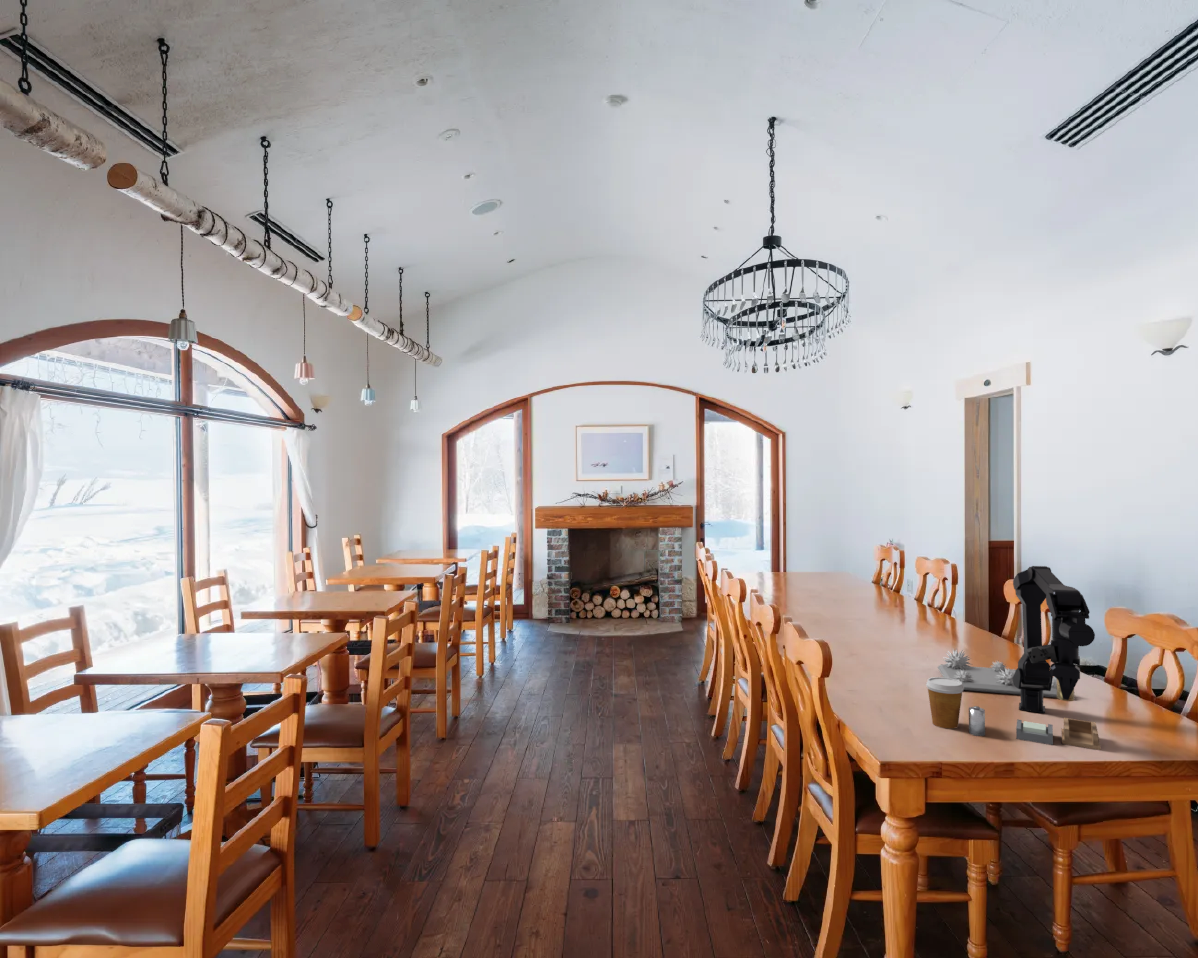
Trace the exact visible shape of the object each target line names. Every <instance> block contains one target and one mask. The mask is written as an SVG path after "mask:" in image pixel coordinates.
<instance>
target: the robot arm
mask: <svg viewBox="0 0 1198 958" xmlns="http://www.w3.org/2000/svg"><path fill="white" fill-rule="evenodd" d="M1012 585H1013V589H1014V591H1015V595H1016V596H1015V597H1017V599H1018V600H1019V601H1020V602H1021V605H1022V630H1023V631H1022V632H1023V633H1022V636H1023V637H1022V638H1023V654H1022V655H1021V657H1020V658H1019V660H1018V661H1017V668H1016V669H1015V670H1016V672H1015V674H1014V676H1013V684H1014V686H1015V687H1017V688H1018V689H1020V694H1021V695H1020V702H1019V703H1018V710H1020V711H1024V712H1025V711H1027V712H1033V713H1040V714H1045V713H1046V706H1045V705H1044V697H1043V690H1046V691H1051V686H1052V679H1053V677H1056V678H1057V679H1058V681H1059V684H1060V688H1061V692H1062V696H1063V699H1064V700H1069V698H1070V695H1071V693H1072V691H1073V689H1074V690H1075V688H1076V685H1077V683H1078V681H1079V680H1080V679H1081V668H1080V666H1081V657H1080V654H1079V653H1080V652H1079V651H1080V650H1079V648H1080V647H1087V646H1089V645H1091V644H1092V643H1093V642H1094V641H1095V638H1096V634H1095V631H1094V629H1093V627H1092V626H1091V625H1088V624H1087V623H1086V619H1087V620H1089V619H1090V609H1089V607H1088V604H1087V602H1086V599H1085V598H1084V596H1083V594H1081V591H1080V590H1079V589H1077V588H1075V587H1073V586H1070V585H1069V586H1068V585H1065V584H1064V583H1062V581H1061V580H1060V579H1059V578H1058V577H1057V576H1056V575H1055V574H1054V573H1053V572H1052V569H1051V567H1049V566H1046V565H1044V566H1043V565H1032V566H1029V567H1028V568H1027V569H1024V570H1023V571H1020V572H1018V573H1016V575H1015V576H1014V578H1013V580H1012ZM1044 602H1046V605H1047V607H1048V610H1049V612H1050V617H1051V631H1052V632H1051V637H1052V638H1051V639H1050V643H1048V644H1043V633H1042V632H1043V631H1042V605H1043V603H1044ZM1048 660H1050V662H1051V663H1052V664H1050V663H1049V662H1047V661H1048ZM1021 682H1022V683H1021Z"/></svg>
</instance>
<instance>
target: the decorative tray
mask: <svg viewBox="0 0 1198 958" xmlns="http://www.w3.org/2000/svg"><path fill="white" fill-rule="evenodd" d="M951 648H952V647H951ZM955 649H956V650H955ZM955 649H954V648H952V653H951V651H949V650H946V651H947V652H945V654H946V655H947V657H946V656H942V658H943V661H944V662H945V663H944V664H940V665H938V666H937V669H938V671H939V672H940V674H941V675H942V676H941V677H944V678H951V679H955V680H958V681H960V682H962V685H963V687H964V690H963V691H970V692H982V693H983V692H984V693H995V694H996V693H997V694H1009V695H1019V696H1021V694H1020V689H1018V688H1017V687H1015V686H1014V684H1013V676H1014V674H1015V672H1016V669H1015V667H1014V668H1013V669H1012V668H1011V669H1010V668H1007V667H1008V666H1007V665H1006V664H1005V663H1004V662H1003V661H999V660H995V662H991V663H992V665H990V666H989V667H983V666H971V665H973V664H972V663H971V662H969V661H970V660H971V658H970V656H969V655H966V656H965V654H966V652H965V651H963V650H964V649H962V650H960V651H958V648H957V647H956V648H955ZM1021 683H1022V682H1021ZM1044 697H1045V698H1056V699H1057V678H1056V677H1054V676H1053V679H1052V686H1051V691H1046V690H1043V698H1044Z"/></svg>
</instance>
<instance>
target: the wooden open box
mask: <svg viewBox="0 0 1198 958" xmlns="http://www.w3.org/2000/svg"><path fill="white" fill-rule="evenodd" d="M1061 744H1062V745H1067V746H1073V747H1078V748H1084V749H1085V748H1086V749H1092V750H1095V751H1096V750H1098V751H1101V749H1102V747H1101V741H1100V737H1099V732H1098V728H1097V723H1096V722H1095V721H1089V720H1083V719H1075V718H1070V717H1063V728H1061Z"/></svg>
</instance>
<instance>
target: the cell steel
mask: <svg viewBox="0 0 1198 958" xmlns="http://www.w3.org/2000/svg"><path fill="white" fill-rule="evenodd" d="M968 733H969V734H970V735H972V736H976V737H985V736H986V710H985V709H984V708H981V707H980V706H979V705H978V706H977V705H973V706H969V707H968Z"/></svg>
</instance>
